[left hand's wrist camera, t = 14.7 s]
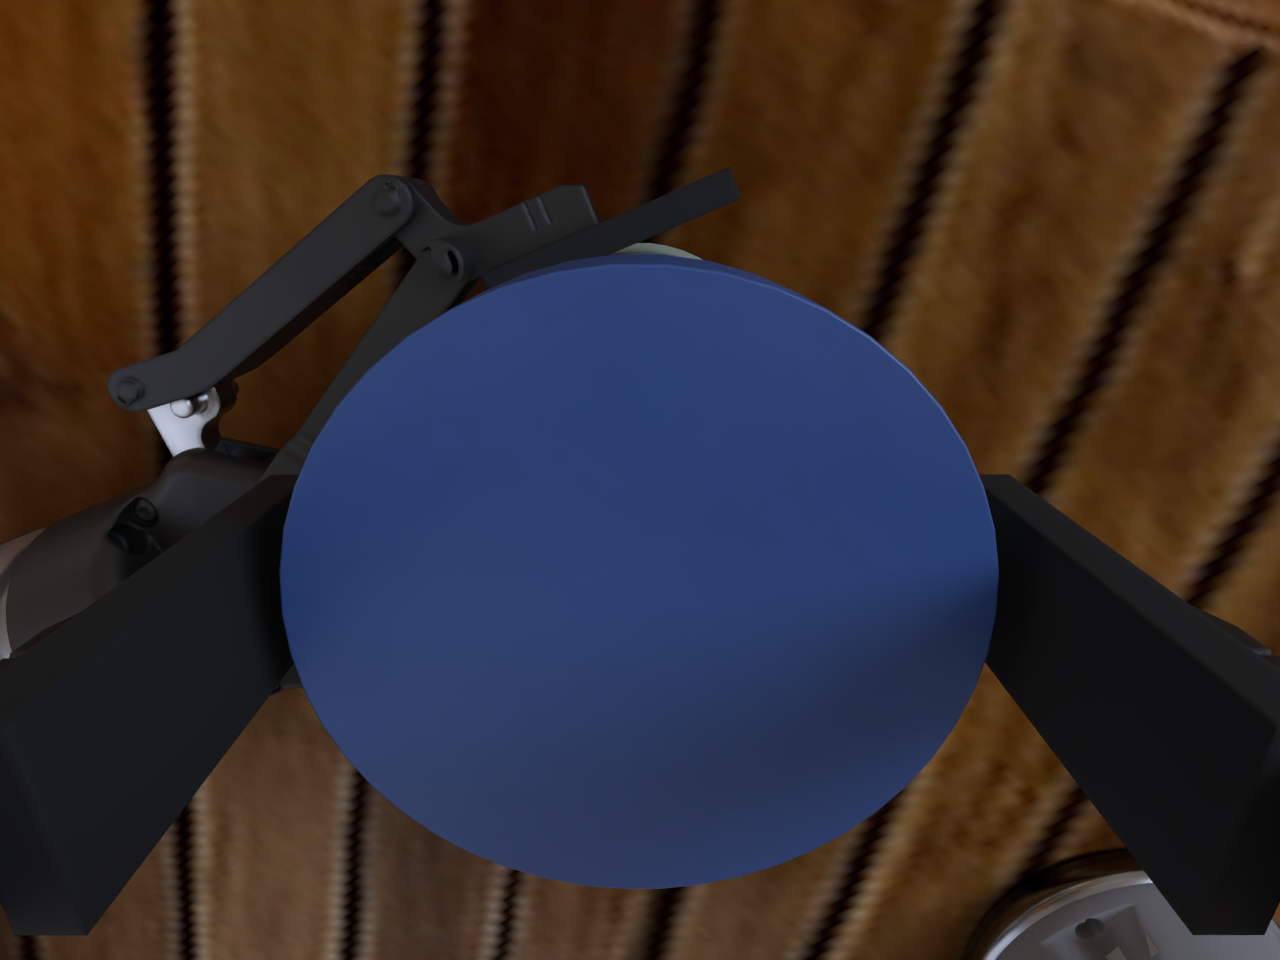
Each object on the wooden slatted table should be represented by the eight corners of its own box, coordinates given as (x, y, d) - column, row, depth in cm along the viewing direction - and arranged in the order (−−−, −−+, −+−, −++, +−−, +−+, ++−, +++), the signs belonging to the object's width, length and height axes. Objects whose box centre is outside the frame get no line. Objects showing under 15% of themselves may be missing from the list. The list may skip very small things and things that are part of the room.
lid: (874, 147, 10) (928, 134, 8) (987, 722, 13) (1043, 804, 11) (215, 384, 11) (131, 419, 9) (481, 853, 14) (458, 946, 13)
